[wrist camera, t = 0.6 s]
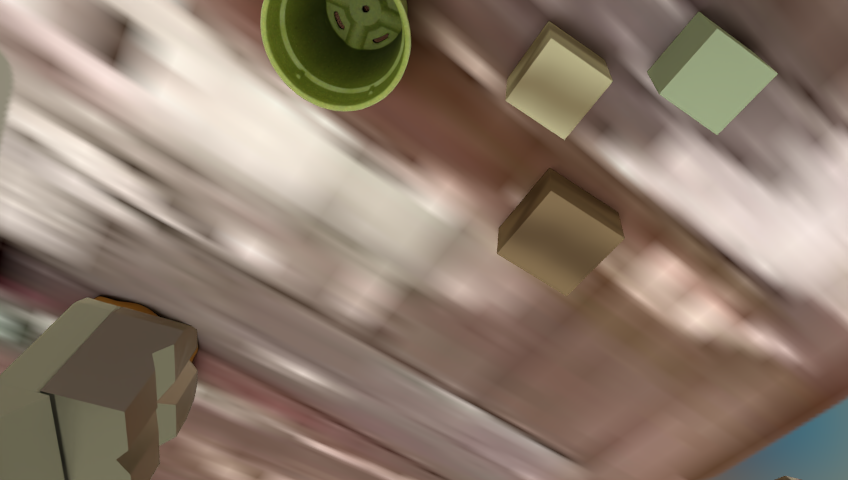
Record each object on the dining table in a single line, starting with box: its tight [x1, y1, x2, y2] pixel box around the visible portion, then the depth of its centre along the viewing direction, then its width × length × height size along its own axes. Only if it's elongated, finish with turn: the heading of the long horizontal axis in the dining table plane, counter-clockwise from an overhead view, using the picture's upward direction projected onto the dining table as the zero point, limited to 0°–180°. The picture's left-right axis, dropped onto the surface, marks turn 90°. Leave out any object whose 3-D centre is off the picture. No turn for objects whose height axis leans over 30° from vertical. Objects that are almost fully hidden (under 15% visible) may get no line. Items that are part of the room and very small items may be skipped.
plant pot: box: [261, 0, 411, 111], centre depth 41 cm, size 9×9×9 cm
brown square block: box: [497, 168, 625, 296], centre depth 50 cm, size 7×7×4 cm
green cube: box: [647, 12, 778, 135], centre depth 42 cm, size 5×5×5 cm
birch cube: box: [505, 21, 613, 140], centre depth 43 cm, size 5×5×5 cm
